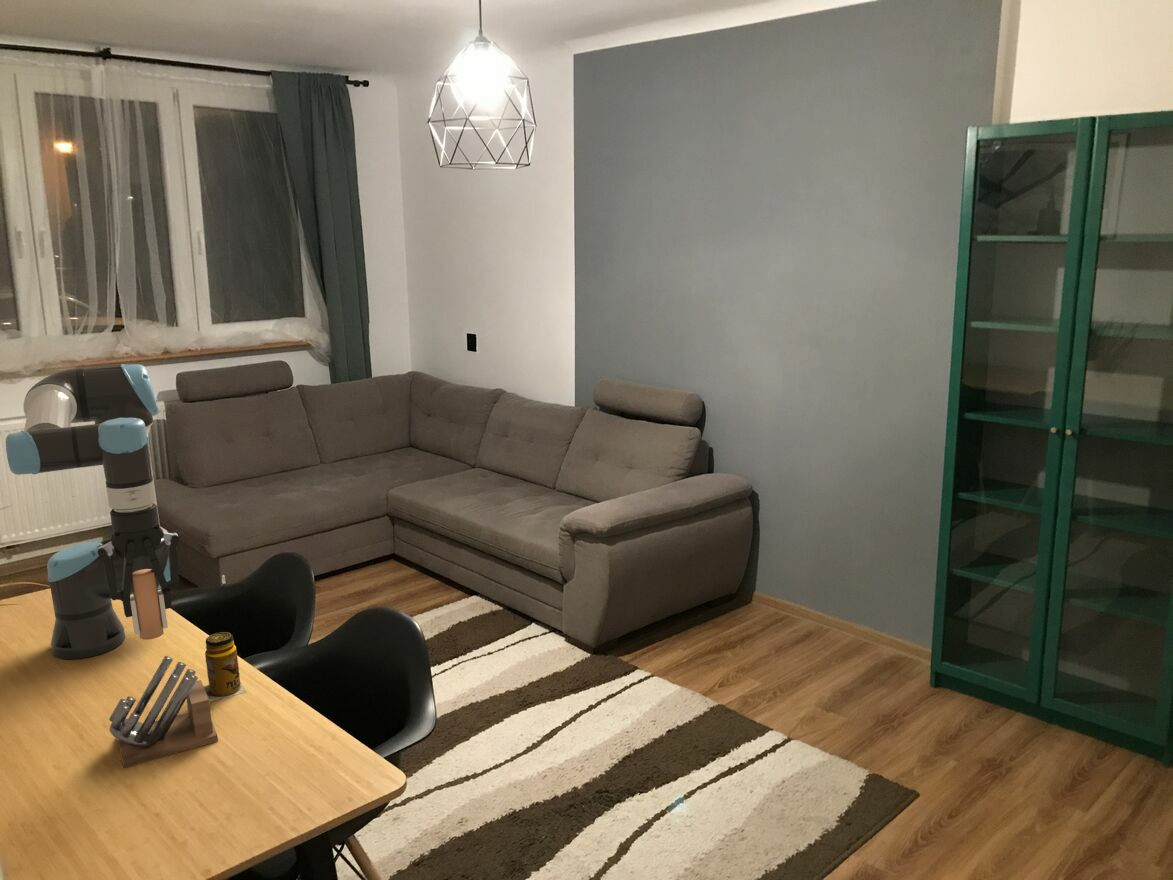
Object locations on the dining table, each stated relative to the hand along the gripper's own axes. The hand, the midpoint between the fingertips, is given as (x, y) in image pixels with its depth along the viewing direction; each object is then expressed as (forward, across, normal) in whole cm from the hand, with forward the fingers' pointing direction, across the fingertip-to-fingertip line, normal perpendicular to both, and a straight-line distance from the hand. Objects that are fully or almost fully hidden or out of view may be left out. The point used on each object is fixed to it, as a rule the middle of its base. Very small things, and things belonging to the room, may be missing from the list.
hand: (150, 628), depth 170 cm
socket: (+22, -1, 0) cm, 23 cm away
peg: (+1, 0, 0) cm, 1 cm away
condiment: (+23, +12, +14) cm, 29 cm away
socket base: (+23, 0, 0) cm, 23 cm away
